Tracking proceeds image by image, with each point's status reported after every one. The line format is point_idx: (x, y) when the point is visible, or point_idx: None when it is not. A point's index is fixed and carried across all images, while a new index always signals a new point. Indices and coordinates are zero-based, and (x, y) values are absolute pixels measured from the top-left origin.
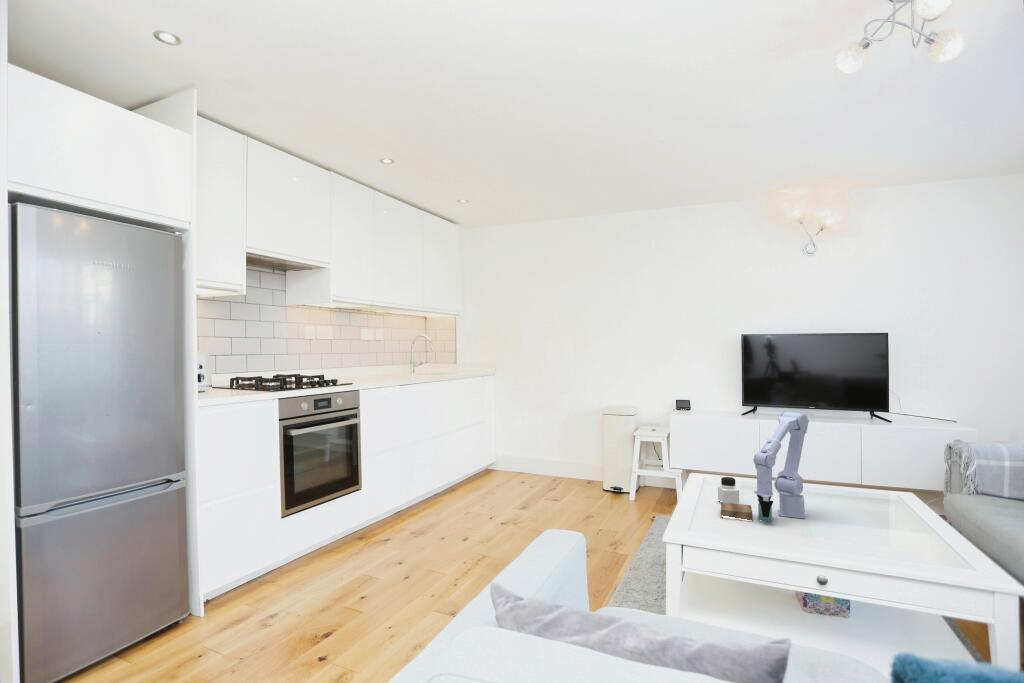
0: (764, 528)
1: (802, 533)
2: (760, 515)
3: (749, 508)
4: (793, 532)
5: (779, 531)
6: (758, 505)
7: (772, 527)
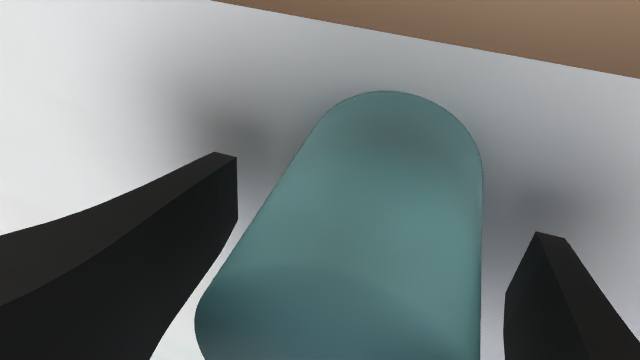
0: (38, 61)
1: None
2: (317, 142)
3: (583, 8)
4: None
5: (37, 179)
6: (326, 241)
7: (123, 159)
